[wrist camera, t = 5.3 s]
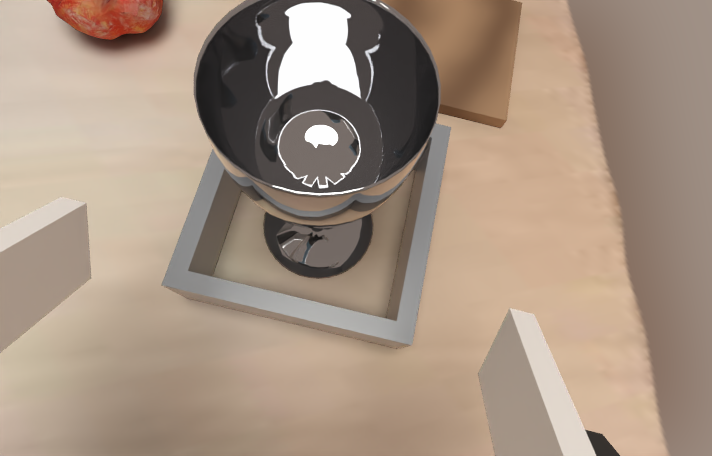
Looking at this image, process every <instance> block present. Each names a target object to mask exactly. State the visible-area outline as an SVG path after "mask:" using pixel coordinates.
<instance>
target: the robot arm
mask: <svg viewBox="0 0 712 456" xmlns="http://www.w3.org/2000/svg"><path fill="white" fill-rule="evenodd" d="M89 279H91V266H90V251H89V235H88V220H87V205H86V203H85V202H81V201H77V200H73V199H69V198H64V197H60V198H58V199H56V200H54V201H52V202H50V203H48V204H46V205H44V206H43V207H41V208H39V209H37V210H35V211H33V212H31V213H29V214H27V215H25V216H23V217H21V218H19V219H17V220H15V221H13V222H11V223H9V224H8V225H6V226H4V227H2V228H0V353H1V352H2V351H3V350H4V349H6V348H7V347H8V346H9V345H10V344H12V343H13V342H14V341H15V340H17V339H18V338H19V337H20V336H21V335H23V334H24V333H25V332H26V331H27V330H29V329H30V328H31V327H32V326H34V325H35V324H36V323H37V322H38V321H40V320H41V319H42V318H43V317H44V316H46V315H47V314H48V313H49V312H51V311H52V310H53V309H54V308H55V307H57V306H58V305H59V304H60V303H61V302H63V301H64V300H65V299H66V298H68V297H69V296H70V295H71V294H72V293H74V292H75V291H76V290H77V289H79V288H80V287H81V286H82V285H83V284H85V283H86V282H87V281H88V280H89ZM478 376H479V381H480V385H481V390H482V395H483V400H484V405H485V409H486V414H487V419H488V424H489V429H490V434H491V438H492V443H493V448H494V453H495V456H620V455H619V454H618V453H617V451H616V450H615V449H614V448H613V447H612V445H611V444H610V443H609V442H608V441H607V439H606V438H605V437H604V436H603V435H602V434H600V433H596V432H592V431H588V430H585V429H584V426H583V424H582V422H581V420H580V417H579V415H578V413H577V411H576V408H575V406H574V404H573V401H572V399H571V397H570V395H569V392H568V390H567V388H566V386H565V383H564V381H563V379H562V376H561V374H560V372H559V370H558V367H557V365H556V363H555V361H554V358H553V356H552V354H551V351H550V349H549V347H548V345H547V342H546V340H545V338H544V336H543V333H542V331H541V329H540V326H539V324H538V322H537V320H536V317H535V315H534V314H531V313H527V312H523V311H519V310H515V309H511V308H509V310H508V312H507V315H506V317H505V319H504V321H503V323H502V325H501V327H500V329H499V331H498V333H497V335H496V337H495V339H494V342H493V344H492V346H491V348H490V350H489V352H488V354H487V356H486V358H485V360H484V362H483V364H482V366H481V369H480V371H479V373H478Z"/></svg>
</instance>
